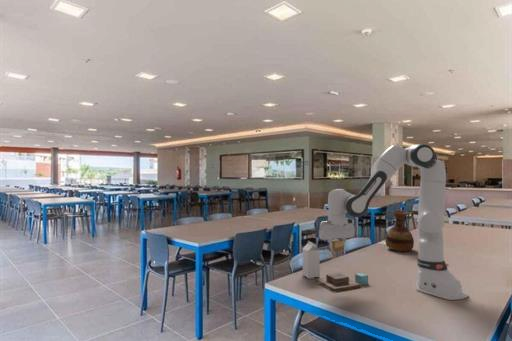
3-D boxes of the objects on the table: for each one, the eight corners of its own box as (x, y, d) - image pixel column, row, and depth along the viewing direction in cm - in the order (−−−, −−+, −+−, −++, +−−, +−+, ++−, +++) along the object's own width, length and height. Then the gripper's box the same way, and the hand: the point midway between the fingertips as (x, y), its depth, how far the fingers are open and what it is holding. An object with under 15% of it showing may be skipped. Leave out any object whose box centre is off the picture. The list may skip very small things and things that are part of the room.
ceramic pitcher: (387, 251, 234) (386, 211, 235) (384, 246, 254) (383, 209, 255) (416, 253, 229) (415, 212, 230) (411, 247, 248) (410, 209, 249)
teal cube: (368, 284, 163) (367, 275, 163) (361, 285, 161) (361, 276, 162) (362, 281, 167) (361, 272, 167) (355, 282, 166) (355, 273, 166)
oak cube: (344, 250, 161) (343, 241, 162) (335, 251, 160) (335, 241, 160) (338, 248, 166) (337, 239, 166) (330, 249, 164) (329, 240, 164)
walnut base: (360, 287, 158) (360, 278, 158) (334, 291, 152) (334, 282, 152) (340, 278, 173) (340, 269, 173) (315, 281, 167) (315, 273, 167)
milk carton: (308, 278, 172) (307, 243, 172) (302, 275, 178) (302, 241, 179) (319, 277, 174) (319, 243, 174) (314, 274, 180) (313, 240, 181)
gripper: (323, 222, 156) (323, 250, 156) (356, 219, 164) (356, 246, 164) (316, 220, 162) (316, 247, 162) (348, 218, 170) (348, 244, 170)
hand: (337, 247), depth 163 cm, fingers closed on oak cube, 5 cm apart
